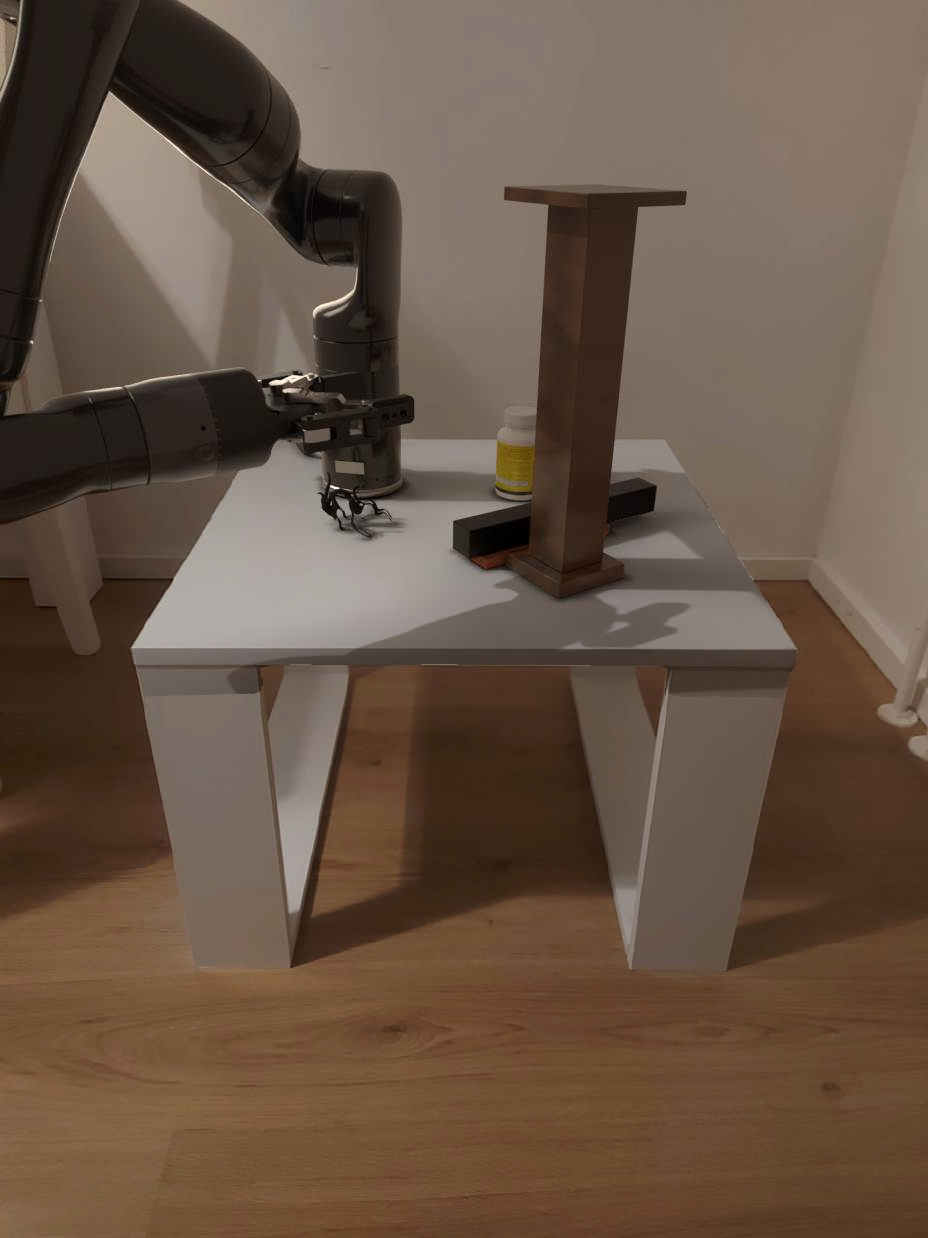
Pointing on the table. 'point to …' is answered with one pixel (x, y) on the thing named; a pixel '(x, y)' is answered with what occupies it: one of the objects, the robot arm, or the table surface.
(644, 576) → the table surface
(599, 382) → the plant stand
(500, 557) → the wooden plank
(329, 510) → the creature
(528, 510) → the handle bar
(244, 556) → the table surface
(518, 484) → the supplement bottle
